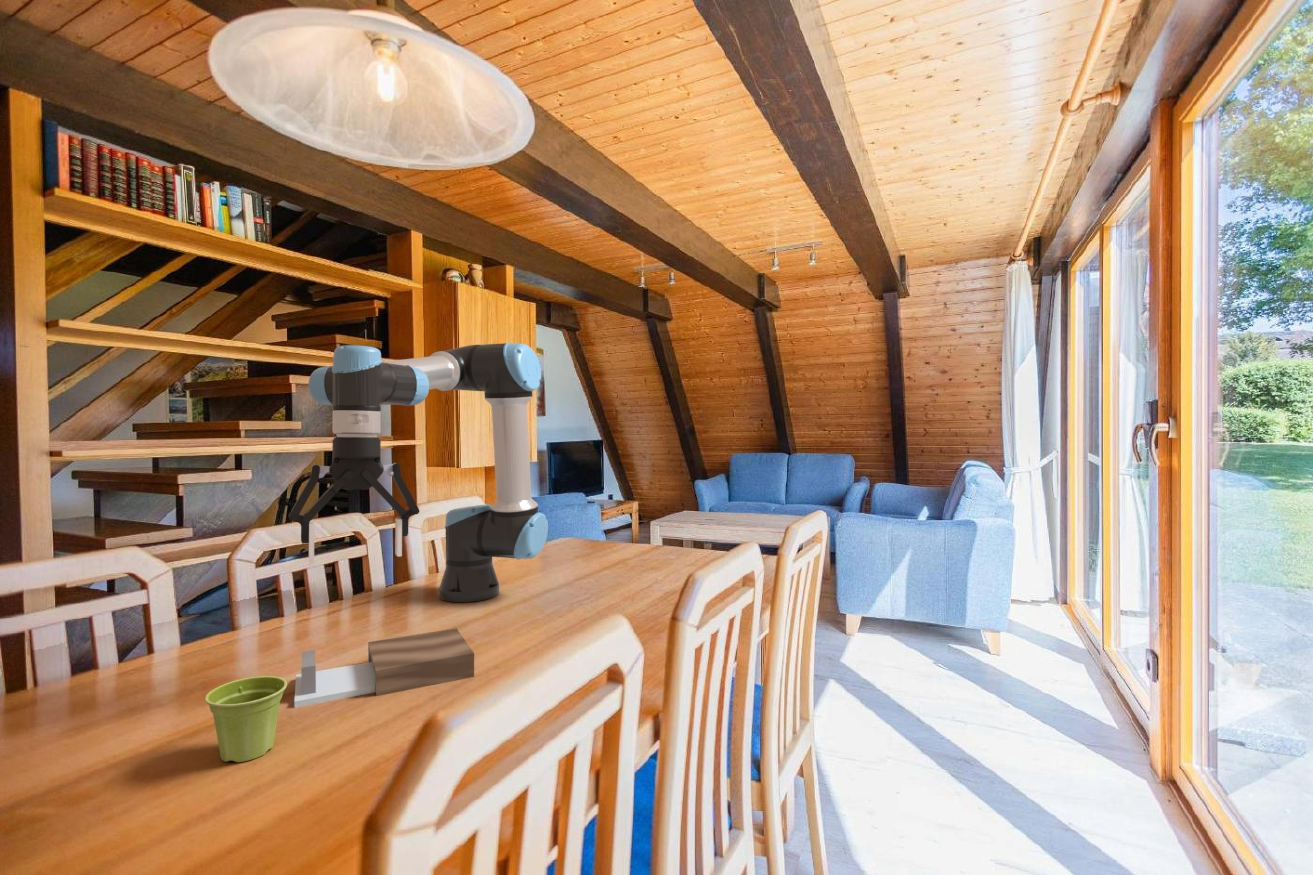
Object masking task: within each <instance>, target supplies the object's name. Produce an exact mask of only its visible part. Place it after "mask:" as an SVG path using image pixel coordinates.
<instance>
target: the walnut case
mask: <svg viewBox="0 0 1313 875" xmlns="http://www.w3.org/2000/svg"><path fill="white" fill-rule="evenodd" d="M367 644H368V646H367V648H368V649H367V650H368V656H367V657H368V662H372V664H373V668H374V672H375V692H374V693H375V696H381V695H387V694H392V693H396V692H402V691H407V690H412V689H417V688H423V687H428V686H433V685H438V684H443V683H448V682H453V680H454V681H457V680H463V679H469V678H473V677H475V653H474V651H473V649H472V648H471V647H470V645H469V644H468V642H467V641H466V640H465V638H464V637H463V636H462V633H461V632H460V631H459V630H458V628H450V629H442V630H437V631H430V632H424V633H418V634H411V635H405V636H400V637H398V636H397V637H393V638H387V639H386V638H385V639H380V640H379V639H378V640H373V641H368V642H367Z"/></svg>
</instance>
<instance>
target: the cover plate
mask: <svg viewBox="0 0 1313 875" xmlns="http://www.w3.org/2000/svg"><path fill="white" fill-rule="evenodd" d="M316 667H317V666H316V649H313V650H306V651H302V652H301V666H300V668H301V673H298V674H296V675H295V684H294V685H295V689H294V700H293V701H294V702H293V703H294V708H295V709H296V708H300V707H305V706H310V705H311V706H312V705H318V704H321V703H327V702H332V701H337V700H342V699H347V698H353V697H357V696H363V695H369V694H373V693H375V672H374V668H373V664H372V662H369V661H368V662H363V663H357V664H350V665H346V666H345V665H343V666H340V667H339V666H338V667H333V668H328V669H321V670H316Z"/></svg>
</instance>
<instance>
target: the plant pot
mask: <svg viewBox="0 0 1313 875" xmlns="http://www.w3.org/2000/svg"><path fill="white" fill-rule="evenodd" d="M287 687H288V682H287V680H286V679H285V678H283V677H280V676H275V675H273V676H271V675H262V676H260V675H259V676H252V677H246V678H240V679H235V680H233V681H230V682H226V683H224V684H222V685H220V686H217V687H215V688H213V689H211V690H210V691H209V692H208V693H207V694H206V695H205V696H204V702H205V703H206V704H207V705H208V706H209V709H210V712H211V713H212V715H213V720H214V727H215V732H216V737H217V743H218V749H219V754H220V759H221V760H222V761H223V762H227V763H228V762H229V761H233V762H236V763H243V762H247V761H252V760H254V759H257V758H260V757H262V756H264V755H265V754H266V753H267V752H268V751H269V750H272V749H273V747H274V744H275V737H276V730H277V723H278V716H279V709H280V702H281V700H282V698H283V694H284V692H285V690H286V689H287Z"/></svg>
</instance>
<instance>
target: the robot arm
mask: <svg viewBox="0 0 1313 875" xmlns="http://www.w3.org/2000/svg"><path fill="white" fill-rule="evenodd" d="M332 359H333V360H332V365H328V366H323V367H318V368H317V369H315V370H313V372H312V373H311V374H310V376H309V379H308V389H309V393H310V396H311V398H312V399H314V400H315V401H316V402H317V403H318V404H320V405H326V406H328V405H329V406H332V433H333V434H334V435H336V436H335V437H333V439H332V453H331V454H332V458H331V459H332V461H331V465H320V464H317V463H315V464H312V466H311V469H310V470H311V471H310V476H309V479H308V480H307V482H306V484H305V486H304V487H303V489H302V491H301V493H300V495H299V497H298V498H297V500H296V502H295V503H294V505H293V507H292V509H291V510H290V512H289V514H288V520H289V521H290V522H295V523H298V524H300V541H301V544H303V545H304V544H308V565H313V564H315V522H311V521H312V520H313V519H314V518H315V517H316V515H318V513H319V512H320V511H321V510H322V509H323V508H324V507H325V506H326V505H327V504H328V503H329V501H330V500H331V499H332V498H333V497H334V496H335V495H336V494H337V493H338V492H339V491H340V490H341V489H343V490H345V491H354V490H359V491H361V490H362V491H367V490H369V489H371V488H373V489H374V490H375V491H376V492H377V493H378V494H379V495H380V497H382V498H383V499H384V500H385V501H386V503H387V504H388V505H389V506H390V507H391V508H392V509H393V510H394V511H395V512H396V513H397V514H398V515H399V517H395V522H394V523H395V526H394V527H395V528H394V529H395V534H394V536H395V538H394V540H395V541H394V543H395V544H394V545H395V547H394V549H395V550H394V551H395V552H394V554H395V556H396V557H402V556H403V537H408V536H409V519H410V518H411V517H412V516H416V515H418V514H419V513H420V508H419V507H418V504H417V503H416V501H415V499H414V497H413V495H412V494H411V492H410V490H409V488H408V486H407V484H406V482H405V480H404V478H403V477H402V473H401V465H400V464H399V463H396V462H394V463H392V464H382V461H381V458H382V457H381V454H382V452H381V451H382V450H381V449H382V448H381V447H382V446H381V445H382V444H381V443H382V441H381V440H382V439H380V437H378V435H380V434H381V433H382V432H381V427H382V426H381V419H382V418H381V411H382V408H381V407H382V406H383V405H385V406H386V405H387V406H388V405H391V406H392V405H397V406H400V405H401V406H403V407H405V406H407V407H409V406H417V405H420V404H421V403H423V402H424V401H425V399H427V397H428V394H429V390H435V389H436V390H438V391H442V392H446V391H469V392H470V391H471V392H483V393H484V400H485V401H486V402H487V403H489V404H490V406H491V419H492V420H491V423H492V436H493V437H492V438H493V458H494V459H493V460H494V475H495V476H494V477H495V493H496V494H495V495H496V501H495V502H494V503H493V504H492V505H491V504H478V505H472V506H471V505H470V506H463V507H459V508H453V509H451V510H449V511H448V512H447V513H446V517H445V526H444V529H445V561H446V562H445V564H446V565H445V569H444V571H443V575H442V579H441V581H440V585H439V587H438V590H439V591H438V598H439V599H440V600H443V601H446V602H450V603H451V602H452V603H474V602H480V601H485V600H489V599H491V598H494V597H496V596H498V595H500V581H499V579H498V576H497V573H496V570H495V568H494V564H493V558H502V559H503V558H505V559H507V558H508V559H514V560H521V559H522V560H531V559H533V558H536V557H537V556H538V555H539V554H540V553H541V552H542V550H543V548H544V547H545V544H546V541H547V538H548V532H549V521H548V519H547V516H546V515H545V514H544V513H542V512H539V504H538V502H536V501H535V500H534V499H533V498H532V484H531V483H532V482H531V479H532V478H531V461H530V443H529V423H528V420H529V418H528V404H529V402H530V401H531V400H532V399H533V391H534V392H535V391H536V390H537V389H538V388H539V386H540V384H541V382H540V381H541V380H542V369H541V366H540V365H541V364H540V361H539V358H538V356H537V354H536V353H535V351H534V350H533V349H532V348H531V346H529V345H527V344H525V343H517V342H507V343H505V342H504V343H489V344H488V343H487V344H486V343H485V344H470V345H464V346H460V347H456V348H452V349H448V350H446V349H445V350H439V351H436V352H433V353H432V354H431V355H429V356H423V357H422V356H421V357H414V358H405V359H396V360H387V361H383V359H382V353H381V350H380V349H378V348H376V347H375V346H367V345H366V346H365V345H355V344H354V345H352V344H351V345H350V344H348V345H346V344H345V345H340V346H337V347H336V348H335V349H334V351H333V358H332ZM384 472H386V474H387V475H388V476H389V477H392V479H393V481H394V484H395V486H396V487H397V489H398V491H399V493H400V494H401V496H402V498H403V499H404V502H405V503H406V506H407V507H408V508H407V509H405V508H404V507H403V506H402V505H401V504H400V503H399V502H398V501H397V500H396V499H395V498H394V497H393V495H391V493H390V492H389V491H388V490H387V489H386V488H385V487H384V486H383V485H382V484H381V483H380V482H379V481H378V479H379V478H380V477H381V475H382V474H383V473H384ZM327 473H329V474H330V476H332V478H333V479H334V482H333V483H332V484H331V485H330V486H329V487H328V488H327V490H326V491H325V492H324V493H323V494H322V495H321V496H320V497H319V498H318V499H317V500H316V501H315V503H314V504H312V505H311V507H310V508H309V509H308V510H307V511H306V512H305V513H304V514H301V512H302V510H303V508H304V506H305V505H306V503H307V501H308V499H309V498H310V496H311V494H312V493H313V491H314V489H315V487H316V485H317V484H318V482H319V479H322V478H324V477H325V475H326V474H327Z"/></svg>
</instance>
